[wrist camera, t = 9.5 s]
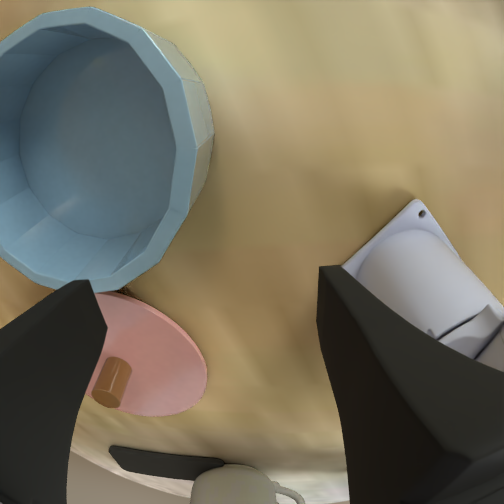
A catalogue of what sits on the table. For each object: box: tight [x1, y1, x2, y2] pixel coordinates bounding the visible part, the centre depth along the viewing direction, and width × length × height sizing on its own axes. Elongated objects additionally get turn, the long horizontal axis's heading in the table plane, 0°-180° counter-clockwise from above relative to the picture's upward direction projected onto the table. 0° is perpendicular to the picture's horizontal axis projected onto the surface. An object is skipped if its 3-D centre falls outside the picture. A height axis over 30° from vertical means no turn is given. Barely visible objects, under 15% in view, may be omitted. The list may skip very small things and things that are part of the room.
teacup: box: [190, 464, 305, 504], centre depth 31 cm, size 14×11×8 cm
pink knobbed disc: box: [85, 291, 208, 416], centre depth 22 cm, size 15×15×5 cm
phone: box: [109, 446, 224, 481], centre depth 34 cm, size 7×1×15 cm
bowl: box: [0, 7, 215, 293], centre depth 14 cm, size 14×14×5 cm
